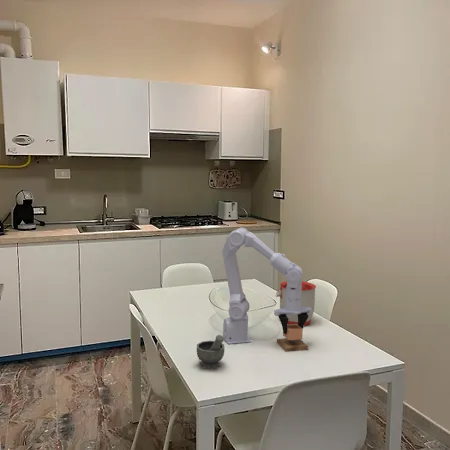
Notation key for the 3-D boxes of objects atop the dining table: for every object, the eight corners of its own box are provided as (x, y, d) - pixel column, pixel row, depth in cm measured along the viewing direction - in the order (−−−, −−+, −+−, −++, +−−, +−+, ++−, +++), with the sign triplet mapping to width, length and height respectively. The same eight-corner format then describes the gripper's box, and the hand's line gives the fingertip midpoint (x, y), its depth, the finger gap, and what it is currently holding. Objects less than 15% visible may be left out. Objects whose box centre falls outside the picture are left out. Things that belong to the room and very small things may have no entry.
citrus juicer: (273, 316, 210) (274, 273, 208) (311, 317, 210) (313, 274, 207) (276, 328, 195) (277, 282, 192) (317, 329, 194) (319, 283, 192)
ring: (288, 340, 171) (288, 329, 171) (282, 334, 177) (283, 324, 176) (302, 339, 173) (302, 328, 172) (296, 333, 178) (296, 323, 178)
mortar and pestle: (190, 363, 158) (191, 330, 157) (212, 357, 164) (212, 324, 163) (210, 375, 150) (210, 340, 148) (232, 368, 155) (233, 334, 154)
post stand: (285, 351, 170) (285, 337, 169) (276, 342, 178) (276, 329, 178) (307, 349, 172) (308, 335, 172) (297, 340, 181) (298, 327, 180)
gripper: (279, 302, 167) (278, 337, 169) (315, 299, 171) (314, 334, 173) (272, 296, 174) (271, 331, 176) (307, 294, 178) (306, 328, 179)
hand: (292, 332), depth 175 cm, fingers closed on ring, 5 cm apart
